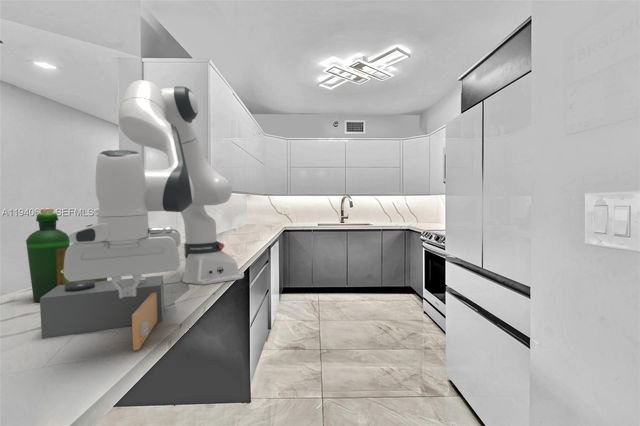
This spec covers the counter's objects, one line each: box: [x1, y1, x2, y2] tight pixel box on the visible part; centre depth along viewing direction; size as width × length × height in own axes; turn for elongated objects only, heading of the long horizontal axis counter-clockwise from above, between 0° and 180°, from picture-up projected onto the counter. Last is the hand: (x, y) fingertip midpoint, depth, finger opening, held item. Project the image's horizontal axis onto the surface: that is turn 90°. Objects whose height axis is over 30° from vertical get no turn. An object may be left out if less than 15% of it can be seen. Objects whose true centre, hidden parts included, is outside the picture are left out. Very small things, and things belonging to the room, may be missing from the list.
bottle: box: [25, 208, 71, 303], centre depth 103 cm, size 11×11×28 cm
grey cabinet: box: [39, 275, 165, 339], centre depth 83 cm, size 24×12×10 cm, turn 113°
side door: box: [131, 292, 158, 351], centre depth 73 cm, size 17×2×7 cm, turn 15°
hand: (128, 296), depth 68 cm, fingers closed
